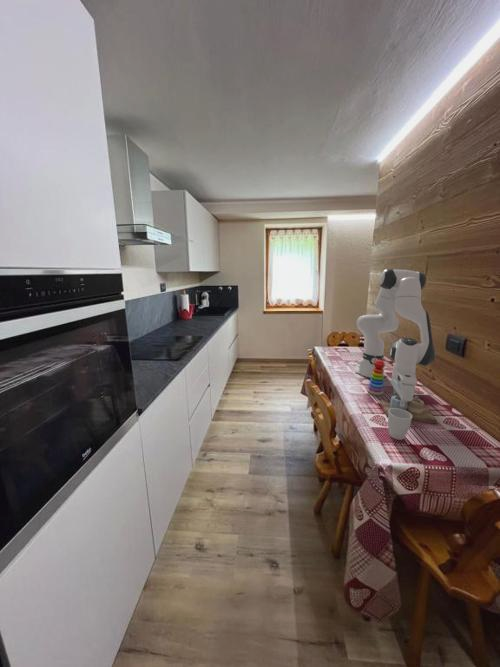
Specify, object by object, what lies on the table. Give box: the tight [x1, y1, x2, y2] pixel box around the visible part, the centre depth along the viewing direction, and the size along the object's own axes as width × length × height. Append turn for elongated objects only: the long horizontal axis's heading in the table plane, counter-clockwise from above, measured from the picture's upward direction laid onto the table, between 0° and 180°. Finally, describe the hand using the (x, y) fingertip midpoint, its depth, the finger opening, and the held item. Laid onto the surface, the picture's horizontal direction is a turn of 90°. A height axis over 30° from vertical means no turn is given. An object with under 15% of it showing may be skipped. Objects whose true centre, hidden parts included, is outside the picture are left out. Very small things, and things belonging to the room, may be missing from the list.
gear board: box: [379, 395, 438, 425], centre depth 124 cm, size 14×20×8 cm
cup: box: [387, 408, 413, 441], centre depth 105 cm, size 8×8×10 cm
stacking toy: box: [366, 360, 386, 396], centre depth 143 cm, size 8×8×19 cm
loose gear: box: [390, 394, 408, 410], centre depth 125 cm, size 6×6×5 cm
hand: (398, 401), depth 124 cm, fingers open, 8 cm apart
